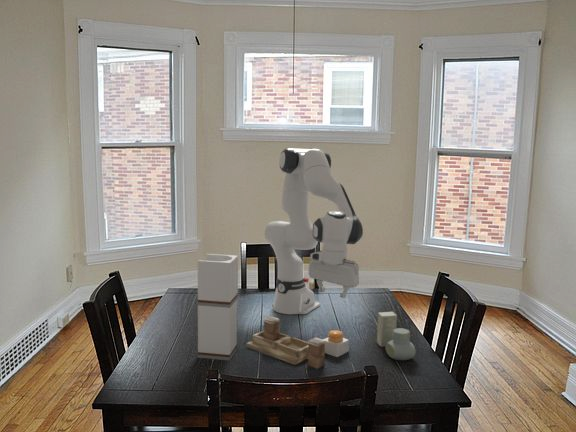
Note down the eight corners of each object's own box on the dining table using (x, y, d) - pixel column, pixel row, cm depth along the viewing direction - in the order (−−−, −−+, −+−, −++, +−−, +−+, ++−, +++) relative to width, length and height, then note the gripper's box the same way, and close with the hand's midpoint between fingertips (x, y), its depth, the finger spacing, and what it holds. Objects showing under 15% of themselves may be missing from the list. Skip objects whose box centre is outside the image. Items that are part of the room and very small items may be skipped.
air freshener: (382, 352, 210) (384, 326, 208) (403, 350, 212) (404, 324, 210) (396, 364, 199) (398, 337, 198) (417, 362, 202) (419, 335, 200)
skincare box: (391, 341, 220) (393, 311, 218) (395, 346, 216) (397, 315, 213) (376, 342, 219) (377, 311, 217) (379, 346, 214) (381, 315, 212)
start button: (333, 338, 212) (334, 329, 211) (345, 341, 209) (345, 332, 208) (325, 341, 208) (326, 332, 208) (337, 345, 205) (337, 336, 204)
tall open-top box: (237, 348, 210) (238, 255, 204) (229, 360, 199) (230, 262, 194) (207, 345, 212) (207, 253, 206) (198, 357, 201) (197, 260, 195)
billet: (314, 361, 200) (315, 337, 199) (324, 365, 198) (325, 340, 196) (307, 365, 197) (308, 340, 196) (317, 368, 195) (318, 343, 193)
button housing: (332, 346, 214) (333, 334, 213) (348, 351, 210) (348, 339, 209) (321, 351, 209) (322, 340, 208) (337, 357, 204) (337, 345, 204)
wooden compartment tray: (271, 336, 222) (272, 310, 220) (319, 352, 208) (320, 325, 206) (246, 346, 212) (246, 319, 210) (294, 365, 197) (295, 336, 195)
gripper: (363, 260, 200) (361, 299, 202) (317, 251, 213) (315, 287, 215) (353, 263, 195) (351, 302, 197) (306, 253, 208) (305, 290, 210)
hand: (332, 294), depth 206 cm, fingers open, 8 cm apart
